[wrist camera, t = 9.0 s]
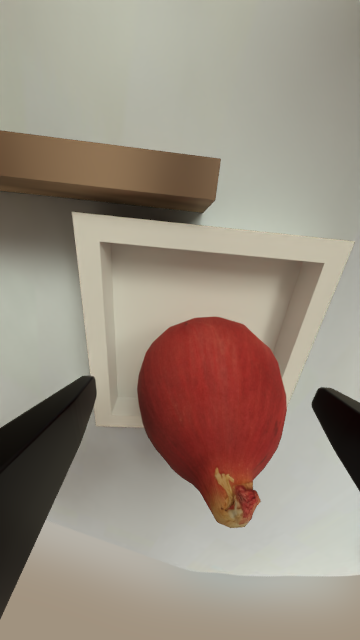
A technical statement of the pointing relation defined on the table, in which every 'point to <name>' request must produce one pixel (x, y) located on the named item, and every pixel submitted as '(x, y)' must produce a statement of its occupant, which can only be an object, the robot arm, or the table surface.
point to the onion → (214, 410)
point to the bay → (106, 172)
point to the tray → (194, 294)
